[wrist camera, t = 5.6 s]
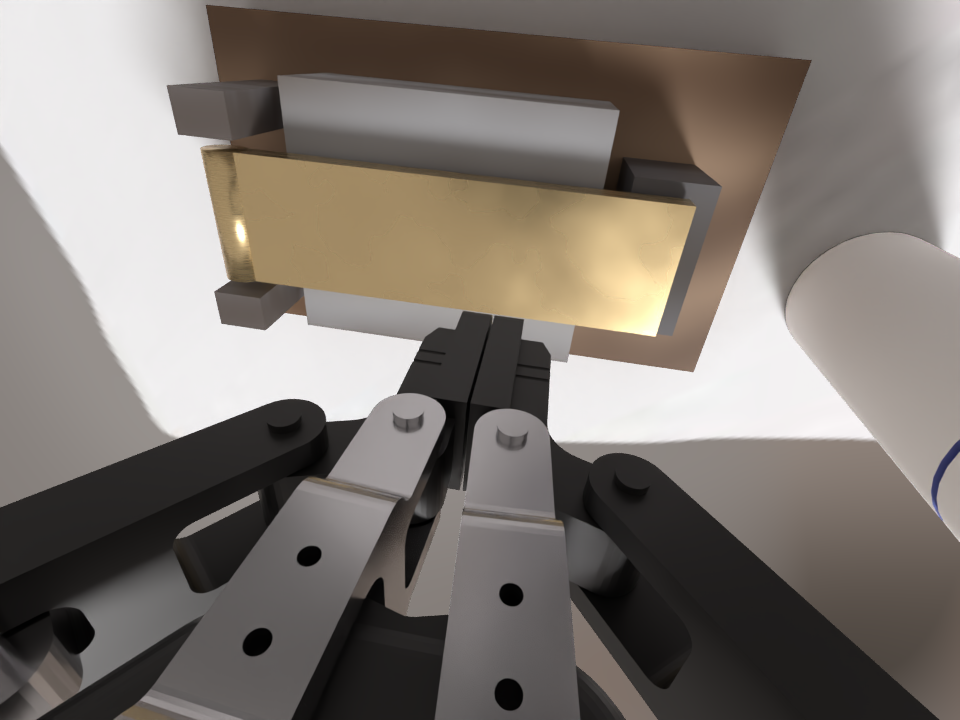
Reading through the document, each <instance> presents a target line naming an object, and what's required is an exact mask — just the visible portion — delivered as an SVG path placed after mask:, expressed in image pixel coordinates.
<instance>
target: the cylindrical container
mask: <svg viewBox="0 0 960 720" xmlns="http://www.w3.org/2000/svg"><path fill="white" fill-rule="evenodd" d="M785 316H786V323H787V327H788V330H789V332H790V334H791V335H792V337H793V339H794V340H795V341H796V343H797V344H798V345H799V346H800V347H801V349H802V350H803V351H804V352H805V354H806V355H807V356H808V357H809V358H810V360H811V361H812V362H813V363H814V365H815V366H816V367H817V368H818V369H819V371H820V372H821V373H822V374H823V376H824V377H825V378H826V379H827V380H828V382H829V383H830V384H831V385H832V387H833V388H834V389H835V390H836V391H837V393H838V394H839V395H840V396H841V398H842V399H843V400H844V401H845V402H846V404H847V405H848V406H849V407H850V409H851V410H852V411H853V412H854V413H855V415H856V416H857V417H858V418H859V420H860V421H861V422H862V423H863V424H864V426H865V427H866V428H867V429H868V431H869V432H870V433H871V434H872V435H873V437H874V438H875V439H876V440H877V442H878V443H879V444H880V445H881V446H882V448H883V449H884V450H885V451H886V453H887V454H888V455H889V456H890V457H891V459H892V460H893V461H894V462H895V464H896V465H897V466H898V467H899V469H900V470H901V471H902V472H903V473H904V475H905V476H906V477H907V478H908V479H909V481H910V482H911V483H912V484H913V486H914V487H915V488H916V489H917V490H918V492H919V493H920V494H921V495H922V497H923V498H924V499H925V500H926V501H927V503H928V504H929V505H930V506H931V508H932V509H933V510H934V511H935V513H936V514H937V515H938V516H939V517H940V518H941V519H942V520H943V521H944V523H945V525H946V526H947V527H948V528H949V530H950V531H951V532H952V533H953V535H954V536H955V537H956V538H957V539H958V541H959V542H960V258H958V257H956V256H954V255H952V254H950V253H948V252H946V251H944V250H942V249H940V248H938V247H936V246H934V245H932V244H930V243H928V242H926V241H924V240H922V239H920V238H917V237H914V236H911V235H908V234H904V233H895V232H883V233H872V234H868V235H863V236H859V237H856V238H853V239H851V240H848V241H845V242H843V243H841V244H839V245H837V246H835V247H833V248H831V249H830V250H828V251H826V252H825V253H824V254H822V255H821V256H820V257H818V258H817V259H816V260H814V261H813V262H812V263H811V264H810V265H809V266H808V267H807V268H806V269H805V270H804V271H803V272H802V274H801V275H800V277H799V278H798V279H797V281H796V282H795V284H794V285H793V287H792V290H791V292H790V294H789V296H788V300H787V304H786V309H785Z"/></svg>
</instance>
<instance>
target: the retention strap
mask: <svg viewBox="0 0 960 720" xmlns="http://www.w3.org/2000/svg"><path fill="white" fill-rule="evenodd" d="M200 149H201V154H202V159H203V163H204V168H205V173H206V178H207V182H208V187H209V192H210V197H211V201H212V206H213V211H214V216H215V220H216V225H217V230H218V235H219V239H220V244H221V249H222V254H223V258H224V263H225V268H226V272H227V277H228V279H230V280H232V281H235V282H254V281H258V282H265V283H273V284H280V285H287V286H294V287H301V288H309V289H316V290H323V291H330V292H338V293H345V294H352V295H359V296H367V297H374V298H381V299H388V300H395V301H403V302H410V303H417V304H424V305H432V306H439V307H446V308H453V309H461V310H468V311H475V312H482V313H489V314H497V315H504V316H511V317H518V318H526V319H533V320H540V321H547V322H555V323H562V324H569V325H576V326H583V327H591V328H598V329H605V330H612V331H620V332H627V333H634V334H641V335H648V336H656V334H657V331H658V327H659V324H660V321H661V318H662V315H663V312H664V308H665V305H666V302H667V299H668V296H669V292H670V289H671V286H672V283H673V280H674V277H675V273H676V270H677V267H678V264H679V261H680V257H681V254H682V251H683V248H684V245H685V242H686V238H687V235H688V232H689V229H690V226H691V222H692V219H693V216H694V213H695V210H696V206H695V205H694V203H693V202H692V201H691V200H690V199H682V198H673V197H664V196H656V195H647V194H638V193H630V192H621V191H613V190H604V189H595V188H587V187H578V186H569V185H561V184H552V183H543V182H535V181H526V180H517V179H509V178H500V177H492V176H483V175H474V174H466V173H457V172H448V171H440V170H431V169H422V168H414V167H405V166H396V165H388V164H379V163H370V162H362V161H353V160H345V159H336V158H327V157H319V156H310V155H301V154H293V153H284V152H275V151H267V150H258V149H249V148H247V147H244V146H238V145H208V146H203V147H201V148H200Z"/></svg>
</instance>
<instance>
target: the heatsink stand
mask: <svg viewBox="0 0 960 720" xmlns="http://www.w3.org/2000/svg"><path fill="white" fill-rule="evenodd" d="M206 8H207V14H208V20H209V25H210V31H211V36H212V42H213V48H214V53H215V59H216V64H217V70H218V75H219V81H220V82H212V83H196V84H181V85H167V89H168V93H169V97H170V102H171V106H172V110H173V115H174V119H175V123H176V128H177V132H178V134H179V135H187V136H196V137H205V138H213V139H222V140H230V143H231V145H238V146H244V147H247V148H249V149H258V150H267V151H275V152H284V153H293V154H301V155H310V156H319V157H327V158H336V159H345V160H353V161H362V162H370V163H379V164H388V165H396V166H405V167H414V168H422V169H431V170H440V171H448V172H457V173H466V174H474V175H483V176H492V177H500V178H509V179H517V180H526V181H535V182H543V183H552V184H561V185H569V186H578V187H587V188H595V189H604V190H613V191H621V192H630V193H638V194H647V195H656V196H664V197H673V198H682V199H690V200H691V201H692V202H693V203H694V205H695V206H696V210H695V213H694V216H693V219H692V222H691V226H690V229H689V232H688V235H687V238H686V242H685V245H684V248H683V251H682V254H681V257H680V261H679V264H678V267H677V270H676V273H675V277H674V280H673V283H672V286H671V289H670V292H669V296H668V299H667V302H666V305H665V308H664V312H663V315H662V318H661V321H660V324H659V327H658V331H657V334H656V336H648V335H641V334H634V333H627V332H620V331H612V330H605V329H598V328H591V327H583V326H576V325H569V324H562V323H555V322H547V321H540V320H533V319H526V318H518V317H511V316H504V315H497V314H490V315H493V319H494V316H495V315H497V316H504V317H511V318H518V319H524V324H523V331H522V338H521V339H523V340H530V341H537V342H543V343H544V345H545V347H546V348H547V350H548V351H549V353H550V354H551V360H553V361H560V362H567V360H568V356H569V354H572V355H579V356H586V357H593V358H600V359H606V360H613V361H620V362H627V363H634V364H641V365H648V366H655V367H662V368H668V369H675V370H682V371H689V372H694V369H695V367H696V364H697V361H698V359H699V356H700V353H701V351H702V348H703V345H704V343H705V340H706V338H707V335H708V332H709V330H710V327H711V324H712V322H713V319H714V316H715V314H716V311H717V309H718V306H719V303H720V301H721V298H722V295H723V293H724V290H725V287H726V285H727V282H728V280H729V277H730V274H731V272H732V269H733V266H734V264H735V261H736V258H737V256H738V253H739V251H740V248H741V245H742V243H743V240H744V237H745V235H746V232H747V229H748V227H749V224H750V222H751V219H752V216H753V214H754V211H755V208H756V206H757V203H758V200H759V198H760V195H761V193H762V190H763V187H764V185H765V182H766V179H767V177H768V174H769V171H770V169H771V166H772V163H773V161H774V158H775V156H776V153H777V150H778V148H779V145H780V142H781V140H782V137H783V134H784V132H785V129H786V127H787V124H788V121H789V119H790V116H791V113H792V111H793V108H794V105H795V103H796V100H797V98H798V95H799V92H800V90H801V87H802V84H803V82H804V79H805V76H806V74H807V71H808V69H809V66H810V63H811V61H812V60H802V59H791V58H780V57H770V56H759V55H748V54H737V53H726V52H715V51H704V50H693V49H682V48H671V47H660V46H649V45H638V44H627V43H617V42H606V41H595V40H584V39H573V38H562V37H551V36H540V35H529V34H518V33H507V32H496V31H485V30H474V29H464V28H453V27H442V26H431V25H420V24H409V23H398V22H387V21H376V20H365V19H354V18H343V17H332V16H321V15H310V14H300V13H289V12H278V11H267V10H256V9H245V8H234V7H223V6H212V5H206ZM214 293H215V297H216V301H217V306H218V310H219V314H220V319H221V323H222V324H227V325H234V326H241V327H248V328H254V329H261V330H266V329H267V328H269V327H270V326H271V325H272V324H273V323H274V322H275V321H276V320H277V319H279V318H280V317H281V316H282V315H283V314H284V313H290V314H296V315H303V316H307V321H308V325H315V326H322V327H328V328H335V329H342V330H349V331H356V332H362V333H369V334H376V335H383V336H390V337H397V338H403V339H410V340H417V341H423V340H424V338H425V336H427V335H428V334H430V333H431V332H433V331H434V330H436V329H437V328H439V327H441V328H447V329H454V330H455V329H456V326H457V324H458V321H459V319H460V316H461V314H462V312H463V311H468V310H461V309H453V308H446V307H439V306H432V305H424V304H417V303H410V302H403V301H395V300H388V299H381V298H374V297H367V296H359V295H352V294H345V293H338V292H330V291H323V290H316V289H309V288H301V287H294V286H287V285H280V284H273V283H265V282H258V281H254V282H235V281H232V280H231V281H230V282H228V283H227V284H225V285H224V286H222V287H221V288H219V289H218V290H216V291H215V292H214ZM469 312H475V311H469ZM476 313H482V312H476ZM483 314H489V313H483ZM492 323H493V321H492Z"/></svg>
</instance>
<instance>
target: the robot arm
mask: <svg viewBox="0 0 960 720" xmlns="http://www.w3.org/2000/svg"><path fill="white" fill-rule="evenodd" d="M492 321H493V323H492ZM523 324H524V319H518V318H511V317H504V316H497V315H495V316H494V319H493V315H490V314H483V313H476V312H469V311H463V312H462V314H461V316H460V319H459V321H458V324H457V326H456V329H455V330H454V329H447V328H441V327H439V328H437V329H436V330H434V331H433V332H431V333H430V334H428V335H427V336H425V338H424V340H423V342H422V344H421V346H420V348H419V351H418V352H417V354H416V356H415V358H414V362H412V364H411V366H410V368H409V370H408V372H407V374H406V376H405V378H404V381H403V383H402V385H401V387H400V389H399V391H398V393H397V395H393V396H390V397H388V398H385V399H384V400H382V401H380V402H379V403H378V404H377V405H376V406H375V407H374V408H373V410H372V411H371V413H370V414H369V416H368V417H367V418H364V419H359V420H349V421H333V422H326V416H325V413H324V411H323V410H322V409H321V408H320V407H319V406H318V405H316V404H314V403H312V402H310V401H306V400H300V399H286V400H280V401H275V402H272V403H269V404H266V405H264V406H261V407H259V408H256V409H254V410H251V411H248V412H246V413H243V414H241V415H238V416H235V417H233V418H230V419H228V420H225V421H223V422H220V423H217V424H215V425H212V426H210V427H207V428H204V429H202V430H199V431H197V432H194V433H192V434H189V435H186V436H184V437H181V438H179V439H176V440H173V441H171V442H169V443H166V444H163V445H161V446H158V447H155V448H153V449H150V450H148V451H145V452H142V453H140V454H137V455H135V456H132V457H130V458H128V459H124V460H122V461H119V462H117V463H114V464H112V465H109V466H106V467H104V468H101V469H99V470H96V471H93V472H91V473H88V474H86V475H83V476H81V477H78V478H75V479H73V480H70V481H68V482H65V483H62V484H60V485H57V486H55V487H52V488H50V489H47V490H44V491H42V492H39V493H37V494H34V495H32V496H29V497H26V498H24V499H21V500H19V501H16V502H13V503H11V504H8V505H6V506H3V507H1V508H0V720H626V719H625V718H624V717H623V715H622V713H621V712H620V711H619V709H618V708H617V706H616V705H615V704H614V703H613V701H612V700H611V699H610V698H609V697H608V695H607V694H606V693H605V692H604V691H603V690H602V689H601V688H600V686H598V684H597V683H596V682H595V681H594V680H593V679H592V678H591V677H589V676H588V675H587V674H586V673H585V672H583V671H582V670H581V669H580V668H579V667H577V666H576V662H575V649H574V637H573V625H572V613H571V600H572V601H573V603H574V604H575V605H576V607H577V608H578V609H579V611H580V612H581V614H582V615H583V616H584V618H585V619H586V621H587V622H588V623H589V625H590V626H591V627H592V629H593V630H594V632H595V633H596V634H597V636H598V637H599V638H600V640H601V641H602V643H603V644H604V645H605V647H606V648H607V649H608V651H609V652H610V654H611V655H612V657H613V658H614V659H615V661H616V662H617V663H618V665H619V666H620V668H621V669H622V670H623V672H624V673H625V674H626V676H627V677H628V679H629V680H630V681H631V683H632V684H633V686H634V687H635V688H636V690H637V691H638V693H639V694H640V695H641V697H642V698H643V700H644V701H645V702H646V704H647V705H648V706H649V708H650V709H651V711H652V712H653V713H654V715H655V716H656V717H657V719H658V720H939V719H938V718H937V717H936V716H935V715H933V714H932V713H931V712H930V711H929V710H928V709H927V708H926V707H924V706H923V705H922V704H921V703H920V702H919V701H918V700H917V699H915V698H914V697H913V696H912V695H911V694H910V693H909V692H908V691H907V690H905V689H904V688H903V687H902V686H901V685H900V684H899V683H898V682H897V681H895V680H894V679H893V678H892V677H891V676H890V675H889V674H888V673H887V672H885V671H884V670H883V669H882V668H881V667H880V666H879V665H877V664H876V663H875V662H874V661H873V660H872V659H871V658H870V657H869V656H867V655H866V654H865V653H864V652H863V651H862V650H861V649H860V648H859V647H857V646H856V645H855V644H854V643H853V642H852V641H851V640H850V639H849V638H847V637H846V636H845V635H844V634H843V633H842V632H841V631H840V630H839V629H837V628H836V627H835V626H834V625H833V624H832V623H831V622H830V621H828V620H827V619H826V618H825V617H824V616H823V615H822V614H821V613H819V612H818V611H817V610H816V609H815V608H814V607H813V606H812V605H811V604H809V603H808V602H807V601H806V600H805V599H804V598H803V597H802V596H801V595H799V594H798V593H797V592H796V591H795V590H794V589H793V588H791V587H790V586H789V585H788V584H787V583H786V582H785V581H784V580H783V579H781V578H780V577H779V576H778V575H777V574H776V573H775V572H774V571H773V570H771V569H770V568H769V567H768V566H767V565H766V564H765V563H764V562H763V561H761V560H760V559H759V558H758V557H757V556H756V555H755V554H754V553H752V552H751V551H750V550H749V549H748V548H747V547H746V546H745V545H744V544H743V543H741V542H740V541H739V540H738V539H737V538H736V537H735V536H734V535H732V534H731V533H730V532H729V531H728V530H727V529H726V528H725V527H724V526H722V525H721V524H720V523H719V522H718V521H717V520H716V519H715V518H713V517H712V516H711V515H710V514H709V513H708V512H707V511H706V510H705V509H703V508H702V507H701V506H700V505H699V504H698V503H697V502H696V501H694V500H693V499H692V498H691V497H690V496H689V495H688V494H687V493H686V492H684V491H683V490H682V489H681V488H680V487H679V486H678V485H677V484H676V483H674V482H673V481H672V480H671V479H670V478H669V477H668V476H667V475H665V474H664V473H663V472H662V471H661V470H660V469H659V468H657V467H656V466H655V465H653V464H651V463H650V462H649V461H646V460H644V459H642V458H640V457H637V456H634V455H630V454H624V453H612V454H607V455H603V456H601V457H599V458H598V459H597V460H595V461H594V462H593V464H592V463H589V462H587V461H584V460H582V459H580V458H577V457H575V456H573V455H571V454H569V453H568V452H566V451H564V450H563V449H562V448H561V447H559V446H558V445H557V444H556V443H555V442H554V440H553V439H552V438H551V436H550V434H549V431H548V428H547V417H548V399H549V380H550V364H551V354H550V353H549V351H548V350H547V348H546V347H545V345H544V343H543V342H537V341H530V340H523V339H521V338H522V331H523ZM464 470H465V471H464ZM463 474H464V482H463V491H466V496H465V504H464V509H463V512H462V519H461V526H460V533H459V541H458V549H457V557H456V563H455V571H454V579H453V586H452V594H451V602H450V609H449V615H439V616H425V617H424V616H423V617H408V616H406V615H407V610H408V607H409V603H410V600H411V597H412V593H413V591H414V588H415V586H416V583H417V580H418V578H419V575H420V572H421V569H422V566H423V564H424V561H425V559H426V556H427V553H428V551H429V548H430V545H431V542H432V540H433V537H434V534H435V532H436V529H437V526H438V523H439V520H440V514H441V508H442V506H443V504H444V500H445V497H446V493H447V489H448V488H450V489H456V490H460V486H461V482H462V478H463ZM256 491H258V495H259V499H260V500H259V501H257V502H255V503H253V504H251V505H249V506H247V507H245V508H243V509H241V510H239V511H237V512H236V513H233V514H231V515H230V516H228V517H225V518H223V519H222V520H220V521H218V522H216V523H214V524H212V525H210V526H208V527H206V528H204V529H202V530H200V531H198V532H196V533H194V534H192V535H190V536H187V537H184V538H180V539H175V538H176V537H177V535H178V534H179V533H180V532H181V531H182V530H183V529H184V528H185V527H187V526H188V525H190V524H191V523H193V522H195V521H197V520H199V519H201V518H203V517H205V516H207V515H209V514H211V513H214V512H216V511H217V510H220V509H222V508H223V507H226V506H228V505H230V504H232V503H234V502H236V501H238V500H240V499H242V498H244V497H246V496H248V495H250V494H252V493H254V492H256ZM570 598H571V600H570Z"/></svg>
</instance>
